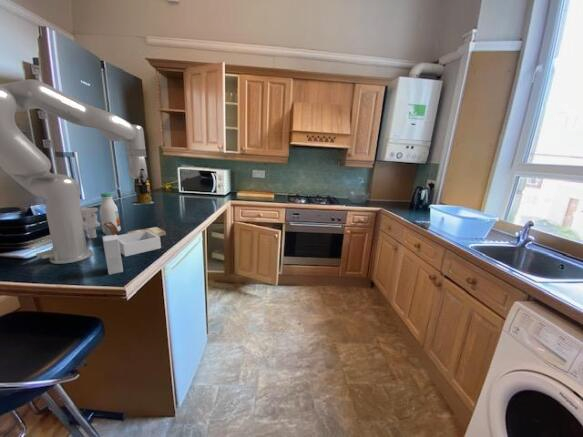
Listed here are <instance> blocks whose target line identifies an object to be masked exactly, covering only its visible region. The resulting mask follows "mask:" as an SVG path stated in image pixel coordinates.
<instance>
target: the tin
mask: <svg viewBox="0 0 583 437" xmlns="http://www.w3.org/2000/svg"><path fill="white" fill-rule="evenodd" d="M104 228H105V233H104V234H105V236H110V235H120V234H119V232H120V231H119V232H118V230H117V227H116V226H115V225H114V224H113V223H111V222H108V223H104Z"/></svg>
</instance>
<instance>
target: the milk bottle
mask: <svg viewBox="0 0 583 437" xmlns="http://www.w3.org/2000/svg"><path fill="white" fill-rule="evenodd" d="M100 196H101V199H102V200H101V204H100V205H99V218H100V225H101V229H102V233H103V234H106V233H105V228H104V223H108V222H111V223H113V224H114V225H115V226H116V227H117V230H118V232H121V229H122V228H121V222H120V221H121V220H120V215H119V210H118V206H117V205H116V203H115V201H114V199H113V193H112V192H102V193H100Z"/></svg>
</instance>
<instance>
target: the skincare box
mask: <svg viewBox="0 0 583 437" xmlns="http://www.w3.org/2000/svg"><path fill="white" fill-rule="evenodd" d="M102 243H103V244H102V245H103V249H104V256H105V261H106V267H107V274H108V275H110V276H111V275H115V274H120V273H123V272H124V267H123V261H122V253H120V247H119V240H118V236H117V235H110V236H106V235H104V236H103V235H102Z"/></svg>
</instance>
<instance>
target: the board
mask: <svg viewBox="0 0 583 437" xmlns="http://www.w3.org/2000/svg"><path fill="white" fill-rule="evenodd" d="M146 230H148V231H150V232H151V233H153V234H155V235H157V236H159V237H162V236H163V237H164V236H166V234H167V233H166V231H165V230H163V229H161V228H160V227H158V226H154V227H149V228H144V229H143V228H142V229H136V230H130V231H126V234H129V233H134V232H140V231H146Z"/></svg>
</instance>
